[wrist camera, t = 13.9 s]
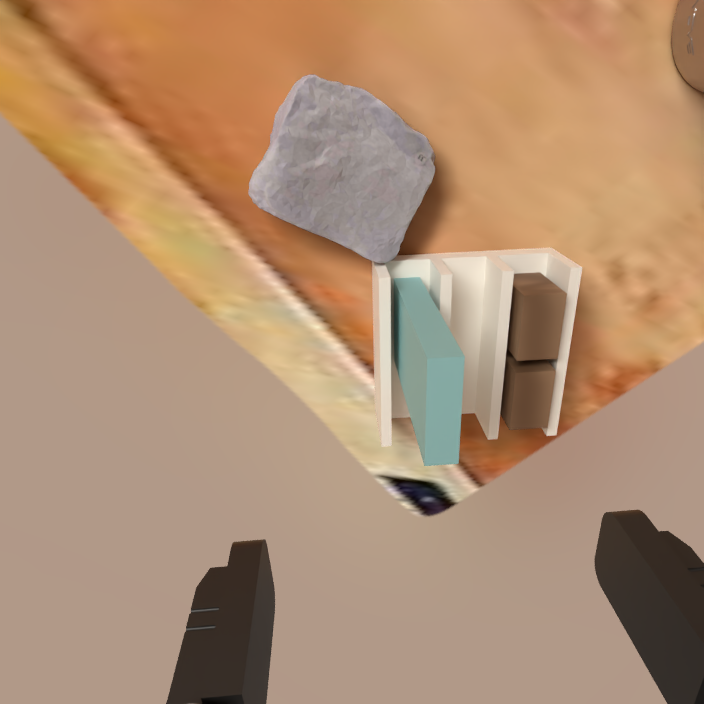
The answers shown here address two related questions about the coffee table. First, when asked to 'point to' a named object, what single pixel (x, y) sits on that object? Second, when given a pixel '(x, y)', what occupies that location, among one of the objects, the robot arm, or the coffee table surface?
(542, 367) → the offcut
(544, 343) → the offcut
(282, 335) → the coffee table surface
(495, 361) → the rack
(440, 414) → the sheet
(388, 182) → the stone block
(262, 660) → the robot arm
